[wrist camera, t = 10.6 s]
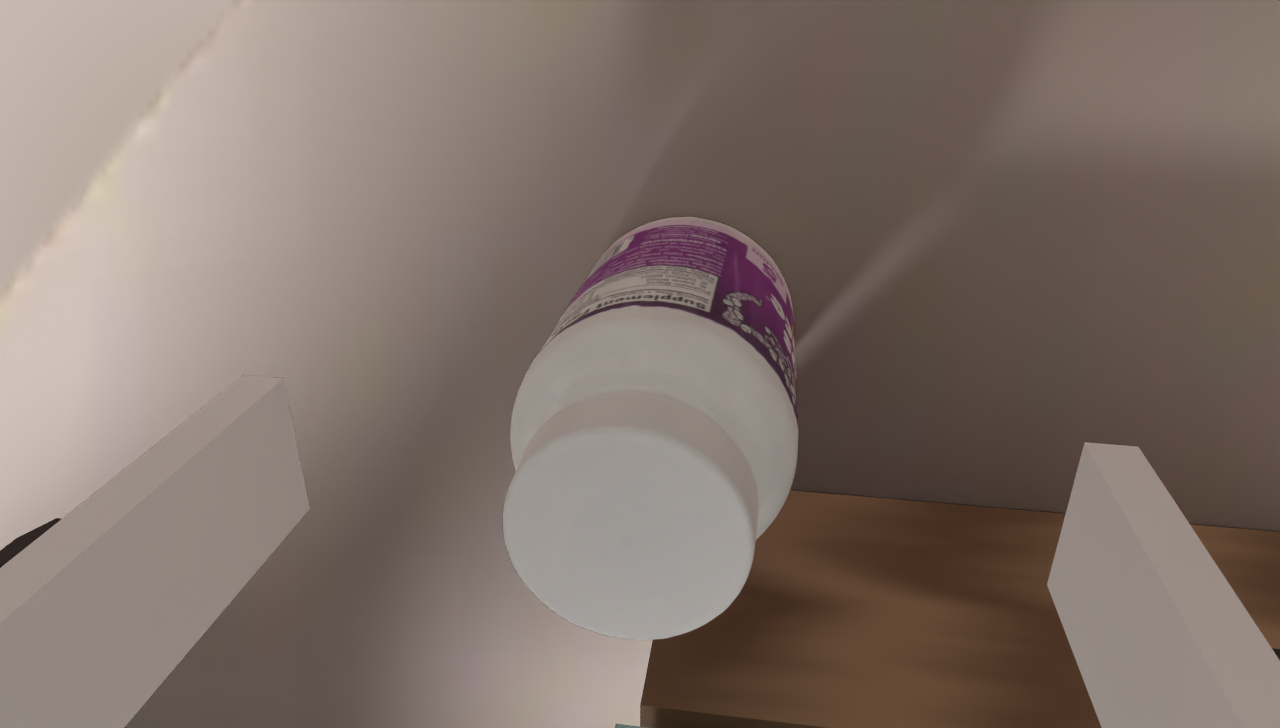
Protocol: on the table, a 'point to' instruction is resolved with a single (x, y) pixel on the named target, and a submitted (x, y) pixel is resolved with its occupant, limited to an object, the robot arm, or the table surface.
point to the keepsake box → (905, 622)
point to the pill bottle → (656, 433)
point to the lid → (626, 726)
